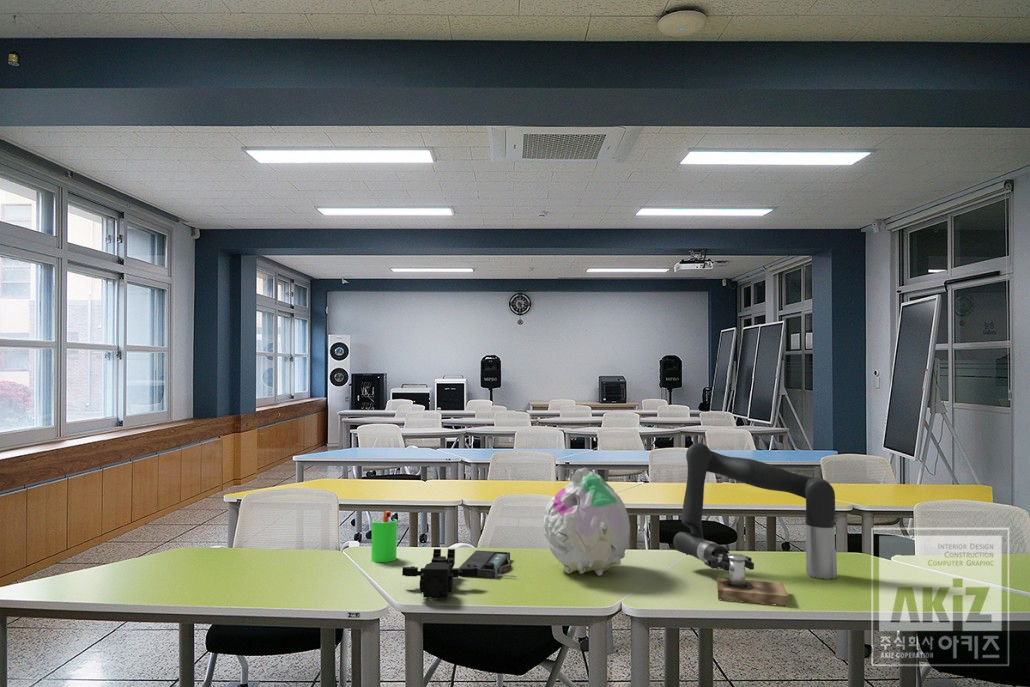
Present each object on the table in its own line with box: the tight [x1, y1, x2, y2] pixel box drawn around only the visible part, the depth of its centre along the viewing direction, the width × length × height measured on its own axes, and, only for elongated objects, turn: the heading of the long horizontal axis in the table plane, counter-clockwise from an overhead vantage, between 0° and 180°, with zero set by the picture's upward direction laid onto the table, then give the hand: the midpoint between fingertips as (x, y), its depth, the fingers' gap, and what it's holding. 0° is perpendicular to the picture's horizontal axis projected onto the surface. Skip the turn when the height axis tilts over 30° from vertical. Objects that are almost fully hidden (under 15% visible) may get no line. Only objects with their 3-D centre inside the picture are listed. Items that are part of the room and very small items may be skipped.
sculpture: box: [543, 467, 631, 577], centre depth 234 cm, size 33×36×30 cm
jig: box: [716, 577, 789, 607], centre depth 206 cm, size 20×14×3 cm
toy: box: [401, 548, 478, 599], centre depth 210 cm, size 24×10×30 cm
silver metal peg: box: [728, 553, 746, 588], centre depth 208 cm, size 5×5×12 cm
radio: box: [458, 549, 517, 579], centre depth 236 cm, size 25×4×20 cm
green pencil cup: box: [370, 510, 398, 563], centre depth 246 cm, size 9×8×18 cm
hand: (740, 567), depth 206 cm, fingers open, 8 cm apart
